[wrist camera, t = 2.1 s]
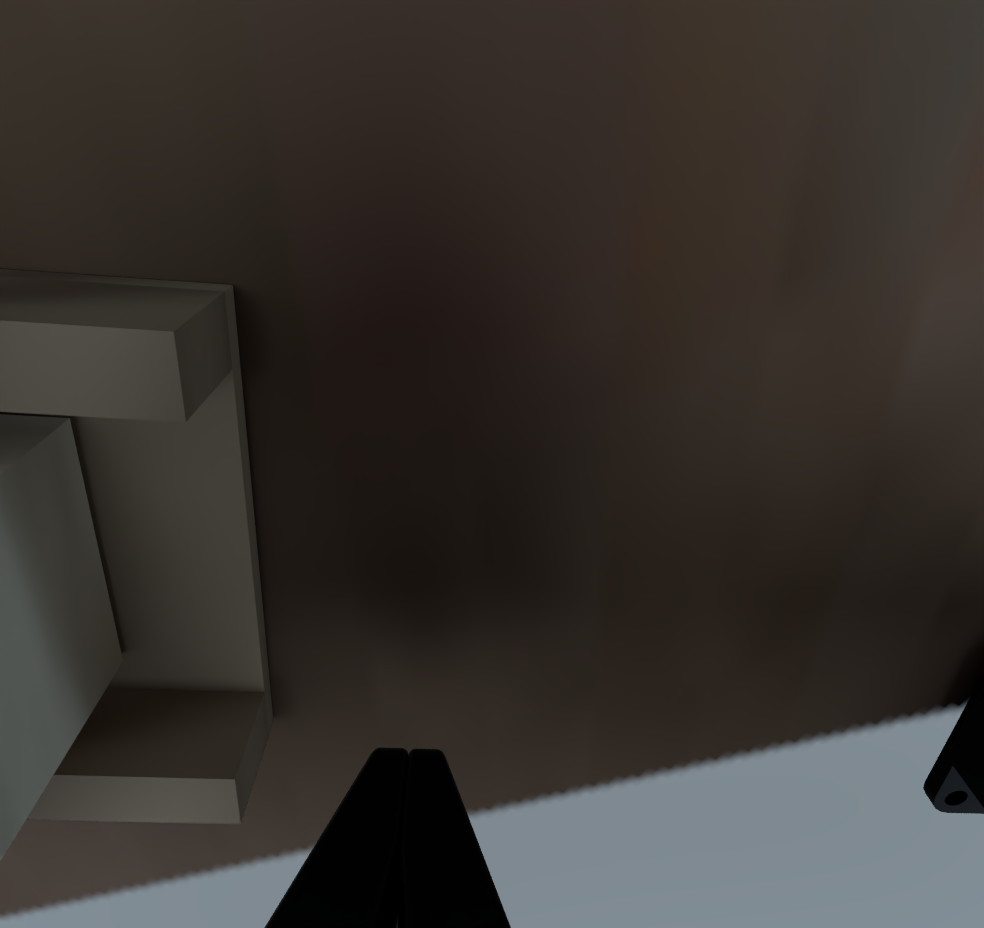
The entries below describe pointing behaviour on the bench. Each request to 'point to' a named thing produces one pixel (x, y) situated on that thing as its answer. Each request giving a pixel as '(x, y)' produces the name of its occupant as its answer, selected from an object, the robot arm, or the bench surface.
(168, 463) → the chute
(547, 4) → the bench surface
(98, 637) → the block
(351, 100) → the bench surface
